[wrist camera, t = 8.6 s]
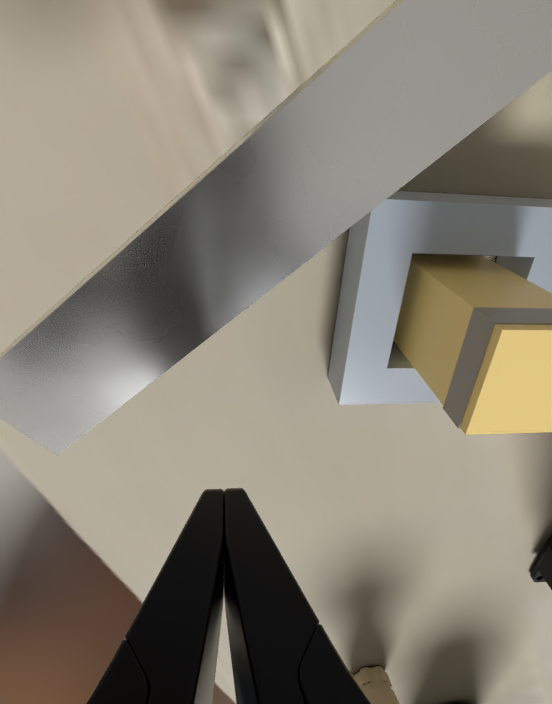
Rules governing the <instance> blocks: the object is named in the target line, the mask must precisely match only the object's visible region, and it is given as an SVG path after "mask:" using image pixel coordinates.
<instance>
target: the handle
mask: <svg viewBox="0 0 552 704" xmlns="http://www.w3.org/2000/svg"><path fill="white" fill-rule="evenodd" d="M353 678H354V679H355V681H356V682H357V683H358V685H359V686H360V688H361V689H362V691H363V692H364V694H365V695H366V697H367V698H368V699H369V701H370V702H371V704H399V702H398V700H397V698H396V695H395V693H394V691H393V690H392V689H391V688H392V685H391V682H390V680H389V677H388V675H387V673H386V672H385V671H384V670H383V668H382V667H380V666H376V667H371V668H369V667H364V668H361V669H360V671H359V672H358V673H357V674H355V675H353Z"/></svg>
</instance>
